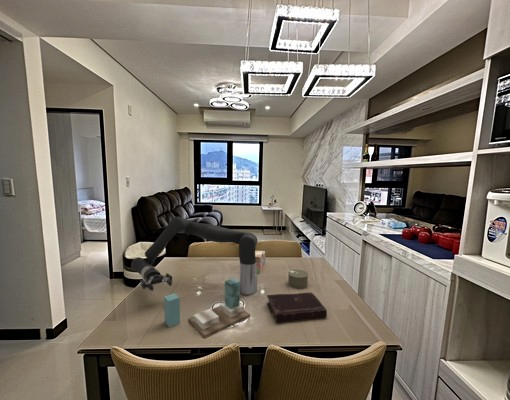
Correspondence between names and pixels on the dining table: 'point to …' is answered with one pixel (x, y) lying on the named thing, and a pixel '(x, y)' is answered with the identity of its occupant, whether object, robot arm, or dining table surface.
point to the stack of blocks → (259, 261)
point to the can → (297, 278)
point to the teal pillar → (172, 309)
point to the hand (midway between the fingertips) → (161, 286)
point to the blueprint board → (221, 312)
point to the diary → (295, 307)
